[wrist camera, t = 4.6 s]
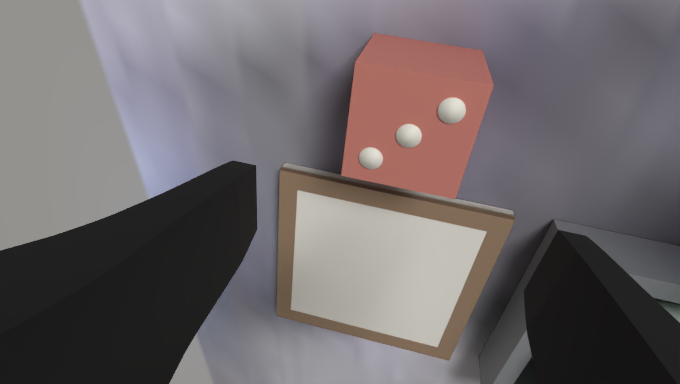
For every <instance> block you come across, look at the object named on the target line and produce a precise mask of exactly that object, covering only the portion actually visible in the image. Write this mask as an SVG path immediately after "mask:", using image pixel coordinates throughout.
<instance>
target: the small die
mask: <svg viewBox="0 0 680 384" xmlns="http://www.w3.org/2000/svg"><path fill="white" fill-rule="evenodd" d="M493 86H494V85H493V81H492V78H491V75H490V72H489V69H488V66H487V63H486V60H485V57H484V54H483V51H482V50H476V49H469V48H463V47H457V46H451V45H445V44H438V43H432V42H426V41H420V40H413V39H407V38H401V37H395V36H389V35H382V34H376V33H374V35H373V36H372V38H371V39H370V41H369V42H368V44H367V45H366V47H365V48H364V50H363V51H362V53H361V54H360V56H359V57H358V58H357V60H356V61H355V68H354V76H353V84H352V92H351V100H350V108H349V116H348V124H347V132H346V140H345V148H344V156H343V164H342V172H341V176H345V177H350V178H355V179H359V180H364V181H369V182H374V183H379V184H384V185H388V186H393V187H398V188H403V189H408V190H412V191H417V192H422V193H427V194H432V195H436V196H441V197H446V198H451V199H455V198H456V196H457V193H458V190H459V187H460V184H461V181H462V178H463V175H464V172H465V169H466V166H467V163H468V160H469V157H470V154H471V151H472V148H473V145H474V142H475V139H476V137H477V134H478V131H479V128H480V125H481V122H482V119H483V116H484V113H485V110H486V107H487V104H488V101H489V98H490V95H491V92H492V89H493Z"/></svg>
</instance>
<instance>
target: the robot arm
mask: <svg viewBox="0 0 680 384" xmlns="http://www.w3.org/2000/svg"><path fill="white" fill-rule="evenodd" d="M256 230H257V194H256V165H251V164H247V163H242V162H237V161H231V162H228V163H226V164H223V165H221V166H219V167H217V168H215V169H212V170H210V171H208V172H206V173H204V174H202V175H200V176H198V177H196V178H194V179H192V180H190V181H188V182H185V183H183V184H181V185H179V186H177V187H175V188H173V189H171V190H169V191H166V192H164V193H162V194H160V195H158V196H156V197H153V198H151V199H148V200H146V201H144V202H142V203H139V204H137V205H134V206H132V207H130V208H127V209H125V210H123V211H120V212H118V213H116V214H113V215H111V216H108V217H105V218H103V219H100V220H98V221H95V222H92V223H89V224H86V225H84V226H81V227H78V228H75V229H72V230H69V231H66V232H63V233H60V234H57V235H54V236H51V237H48V238H44V239H40V240H37V241H33V242H30V243H26V244H23V245H19V246H15V247H12V248H8V249H5V250H2V251H0V384H169V383H170V381H171V379H172V377H173V374H174V373H175V371H176V369H177V367H178V365H179V363H180V361H181V359H182V357H183V355H184V353H185V351H186V350H187V348H188V346H189V345H190V343H191V341H192V340H193V338H194V336H195V334H196V333H197V331H198V330H199V328H200V327H201V325H202V324H203V322H204V320H205V319H206V317H207V316H208V314H209V313H210V311H211V310H212V308H213V306H214V305H215V303H216V302H217V300H218V299H219V297H220V296H221V294H222V292H223V291H224V289H225V288H226V286H227V285H228V283H229V282H230V280H231V278H232V277H233V275H234V274H235V272H236V270H237V269H238V267H239V266H240V264H241V262H242V260H243V258H244V256H245V254H246V252H247V250H248V248H249V246H250V244H251V241H252V239H253V237H254V235H255V232H256ZM524 305H525V319H526V330H527V335H528V340H529V345H530V350H531V354H532V359H533V363H534V368H535V372H536V377H537V381H538V384H680V322H679V321H677V320H676V319H675V318H674V317H673V316H672V315H671V314H670V313H669V312H668V311H667V310H666V309H665V308H663V307H662V306H661V305H660V304H659V303H658V302H657V301H656V300H655V299H654V298H653V297H652V296H651V295H650V294H649V293H648V292H647V291H646V290H644V289H643V288H642V287H641V286H640V285H639V284H638V283H637V282H636V281H635V280H634V279H633V278H632V277H631V276H630V275H629V274H628V273H627V272H626V271H625V270H624V269H623V268H622V267H621V266H620V265H618V264H617V263H616V262H615V261H614V260H613V259H612V258H611V257H610V256H609V255H608V254H607V253H606V252H605V251H604V250H602V249H601V248H600V247H599V246H598V245H597V244H596V243H595V242H593V241H592V240H591V239H590V238H589V237H587V236H585V235H581V234H576V233H571V232H567V231H562V230H558V231H557V232H556V234H555V236H554V238H553V240H552V241H551V243H550V245H549V247H548V248H547V250H546V252H545V254H544V255H543V257H542V259H541V261H540V263H539V264H538V266H537V268H536V270H535V271H534V273H533V275H532V277H531V279H530V280H529V282H528V284H527V286H526V287H525V289H524Z"/></svg>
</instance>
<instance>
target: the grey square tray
mask: <svg viewBox="0 0 680 384" xmlns="http://www.w3.org/2000/svg"><path fill="white" fill-rule="evenodd" d="M558 230H562V231H567V232H571V233H576V234H581V235H585V236H587V237H589V238H590V239H591V240H592V241H593V242H595V243H596V244H597V245H598V246H599V247H600V248H601V249H602V250H604V251H605V252H606V253H607V254H608V255H609V256H610V257H611V258H612V259H613V260H614V261H615V262H616V263H617V264H618V265H620V266H621V267H622V268H623V269H624V270H625V271H626V272H627V273H628V274H629V275H630V276H631V277H632V278H633V279H634V280H635V281H636V282H637V283H638V284H639V285H640V286H641V287H642V288H643V289H644V290H646V291H647V292H648V293H649V294H650V295H651V296H652V297H653V298H657V299H661V300H665V301H670V302H674V303H679V304H680V246H678V245H673V244H668V243H664V242H659V241H654V240H649V239H645V238H640V237H635V236H630V235H626V234H621V233H616V232H611V231H607V230H602V229H597V228H592V227H588V226H583V225H578V224H573V223H569V222H564V221H559V220H555V219H554V220H553V222H552V223H551V225H550V227H549V229H548V231H547V233H546V234H545V236H544V238H543V240H542V242H541V244H540V245H539V247H538V249H537V251H536V253H535V255H534V256H533V258H532V260H531V262H530V264H529V266H528V268H527V269H526V271H525V273H524V275H523V277H522V279H521V280H520V282H519V284H518V286H517V288H516V290H515V291H514V293H513V295H512V297H511V299H510V301H509V302H508V304H507V306H506V308H505V310H504V312H503V313H502V315H501V317H500V319H499V321H498V323H497V324H496V326H495V328H494V330H493V332H492V334H491V335H490V337H489V339H488V341H487V343H486V345H485V347H484V348H483V350H482V352H481V354H480V356H479V367H480V379H481V384H538V381H537V377H536V372H535V368H534V363H533V361H531V360H530V359H531V357H532V354H531V350H530V345H529V340H528V335H527V330H526V319H525V305H524V289H525V287H526V286H527V284H528V282H529V280H530V279H531V277H532V275H533V273H534V271H535V270H536V268H537V266H538V264H539V263H540V261H541V259H542V257H543V255H544V254H545V252H546V250H547V248H548V247H549V245H550V243H551V241H552V240H553V238H554V236H555V234H556V232H557V231H558Z"/></svg>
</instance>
